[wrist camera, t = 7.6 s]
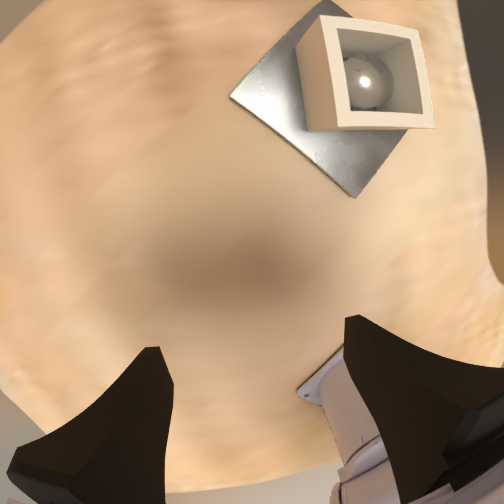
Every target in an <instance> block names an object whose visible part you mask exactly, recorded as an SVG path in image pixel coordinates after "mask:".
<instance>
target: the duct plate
mask: <svg viewBox="0 0 504 504" xmlns="http://www.w3.org/2000/svg"><path fill="white" fill-rule="evenodd" d="M319 15H326V16H338V17H348V18H353V17H352V16H350V15H349V14H348V13H347V12H345V11H344V10H343V9H342V8H340V7H339V6H338V5H336V4H335V3H334V2H332V1H331V0H322V1H321V2H320V3H319V4H318V5H317V6H316V7H314V8H313V9H312V10H311V11H310V12H309V13H308V14H307V15H306V16H305V17H304V18H303V19H301V20H300V21H299V22H298V23H297V24H296V25H295V26H294V27H293V28H292V29H291V30H290V31H289V32H288V33H287V34H286V35H285V36H284V37H283V38H282V39H281V40H280V41H279V42H278V43H277V44H276V45H275V46H274V47H273V48H272V49H271V50H270V51H269V52H268V54H267V55H266V56H265V57H264V58H263V59H262V60H261V61H260V62H259V63H258V64H257V65H256V66H255V68H254V69H253V70H252V71H251V72H250V73H249V74H248V75H247V76H246V78H245V79H244V80H243V81H242V82H241V83H240V84H239V86H238V87H237V88H236V89H235V90H234V91H233V93H232V94H231V95H230V99H231V100H233V101H234V102H236V103H237V104H238V105H240V106H241V107H243V108H244V109H245V110H247V111H248V112H249V113H251V114H252V115H253V116H255V117H256V118H257V119H259V120H260V121H261V122H263V123H264V124H265V125H267V126H268V127H269V128H271V129H272V130H273V131H274V132H276V133H277V134H278V135H279V136H281V137H282V138H283V139H284V140H286V141H287V142H288V143H289V144H291V145H292V146H293V147H294V148H296V149H297V150H298V151H299V152H300V153H302V154H303V155H304V156H305V157H306V158H308V159H309V160H310V161H311V162H312V163H313V164H315V165H316V166H317V167H318V168H319V169H320V170H322V171H323V172H324V173H325V174H326V175H327V176H328V177H330V178H331V179H332V180H333V181H334V182H335V183H336V184H337V185H338V186H340V187H341V188H342V189H343V190H344V191H345V192H346V193H347V194H348V195H349V196H350V197H352V198H355V199H356V198H357V196H358V195H359V194H360V193H361V191H362V190H363V189H364V187H365V186H366V185H367V184H368V182H369V181H370V180H371V178H372V177H373V176H374V174H375V173H376V172H377V170H378V169H379V168H380V167H381V165H382V164H383V163H384V161H385V160H386V159H387V157H388V156H389V154H390V153H391V152H392V150H393V149H394V148H395V146H396V145H397V144H398V142H399V141H400V140H401V138H402V137H403V135H404V134H405V133H406V131H407V130H408V129H398V130H339V131H317V132H307V124H306V116H305V108H304V101H303V94H302V87H301V80H300V74H299V67H298V61H297V55H296V50H295V46H296V45H297V43H298V42H299V41H300V39H301V38H302V37H303V35H304V34H305V33H306V32H307V30H308V29H309V28H310V26H311V25H312V24H313V23H314V21H315V20H316V19H317V17H318V16H319ZM342 58H343V57H342ZM343 64H344V70H345V76H346V82H347V88H348V95H349V102H350V110H351V111H373V112H377V109H376V106H380V105H383V104H385V103H386V102H388V101H389V100H390V98H391V97H392V95H393V92H394V79H393V75H392V73H391V71H390V69H389V68H388V66H387V65H386V64H385V63H384V62H383V61H382V60H381V59H379V58H378V57H376V56H374V55H371V54H367V53H359V54H356V55H354V56H352V57H350V58H343Z"/></svg>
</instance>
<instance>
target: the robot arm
mask: <svg viewBox="0 0 504 504" xmlns="http://www.w3.org/2000/svg"><path fill="white" fill-rule="evenodd" d="M173 395H174V383H173V381H172V378H171V376H170V373H169V371H168V368H167V365H166V363H165V360H164V358H163V355H162V352H161V349H160V347H159V346H158V347H145V348H144V349H143V350H142V351H141V352H140V353H139V355H138V356H137V357H136V358H135V359H134V360H133V362H132V363H131V364H130V365H129V366H128V367H127V368H126V370H125V371H124V372H123V373H122V374H121V375H120V376H119V378H118V379H117V380H116V381H115V382H114V383H113V384H112V385H111V386H110V387H109V388H108V389H107V390H106V391H105V392H104V393H103V394H102V395H101V396H100V397H99V398H98V399H97V400H96V401H95V402H94V403H93V404H91V405H90V406H89V407H88V408H87V409H85V410H84V411H83V412H82V413H80V414H79V415H78V416H76V417H75V418H73V419H72V420H70V421H69V422H68V423H66V424H65V425H63V426H62V427H60V428H58V429H57V430H55V431H53V432H51V433H49V434H47V435H46V436H44V437H42V438H40V439H38V440H35V441H33V442H30V443H28V444H25V445H23V446H20V447H17V449H16V451H15V454H14V456H13V458H12V461H11V463H10V465H9V468H8V470H7V475H8V478H9V479H10V481H11V482H12V483H13V484H14V485H16V486H17V487H18V488H19V489H20V490H21V491H23V492H24V493H25V494H26V495H27V496H29V497H30V498H31V499H33V500H34V501H35V502H37V503H38V504H166V503H165V453H166V446H167V440H168V433H169V427H170V421H171V415H172V409H173ZM297 395H298V396H299V397H301V398H303V399H305V400H308V401H310V402H313V403H315V404H318V405H320V406H323V409H324V412H325V414H326V417H327V420H328V423H329V425H330V428H331V431H332V433H333V436H334V439H335V442H336V444H337V447H338V450H339V453H340V455H341V458H342V461H343V463H344V467H342V468H340V469H339V470H338V471H337V472H338V474H339V477H340V482H338V483H336V484H335V485H334V487H333V489H332V493H331V497H330V504H504V368H495V367H486V366H479V365H473V364H468V363H464V362H460V361H456V360H452V359H449V358H446V357H442V356H440V355H437V354H434V353H432V352H429V351H427V350H424V349H422V348H420V347H417V346H415V345H413V344H411V343H409V342H407V341H405V340H403V339H401V338H400V337H398V336H396V335H394V334H392V333H391V332H389V331H387V330H385V329H384V328H382V327H380V326H379V325H377V324H375V323H374V322H372V321H370V320H368V319H367V318H365V317H363V316H361V315H355V316H351V317H346V318H345V332H344V346H343V347H342V348H341V349H340V350H339V351H338V352H337V353H336V354H335V355H334V356H333V357H332V358H331V359H330V360H329V361H328V362H327V363H326V364H325V365H324V366H323V367H322V368H321V369H320V370H319V371H318V372H317V373H316V374H314V375H313V376H312V377H311V378H310V379H309V380H308V381H307V382H306V383H305V384H304V385H302V386H301V387H300V388H299V389H298V390H297ZM7 504H24V503H22V502H20V501H18V500H15V499H13V498H10V497H9V498H8V501H7Z"/></svg>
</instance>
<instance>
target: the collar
mask: <svg viewBox="0 0 504 504" xmlns="http://www.w3.org/2000/svg"><path fill="white" fill-rule="evenodd" d="M295 50H296V55H297V61H298V67H299V74H300V80H301V87H302V94H303V101H304V108H305V116H306V124H307V132H317V131H339V130H398V129H435V127H434V117H433V109H432V101H431V94H430V87H429V81H428V75H427V70H426V65H425V60H424V55H423V50H422V46H421V42H420V38H419V34H418V30H415V29H411V28H407V27H402V26H398V25H393V24H388V23H382V22H376V21H370V20H364V19H356V18H348V17H338V16H326V15H319V16H318V17H317V19H316V20H315V21H314V23H313V24H312V25H311V26H310V28H309V29H308V30H307V32H306V33H305V34H304V35H303V37H302V38H301V39H300V41H299V42H298V43H297V45H296V46H295ZM359 53H367V54H371V55H374V56H376V57H378V58H379V59H381V60H382V61H383V62H384V63H385V64H386V65H387V66H388V68H389V69H390V71H391V73H392V75H393V79H394V92H393V95H392V97H391V98H390V100H389V101H388V102H386V103H385V104H383V105H380V106H376V109H377V112H373V111H351V110H350V102H349V95H348V88H347V82H346V76H345V70H344V64H343V58H350V57H352V56H354V55H356V54H359ZM342 57H343V58H342Z"/></svg>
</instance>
